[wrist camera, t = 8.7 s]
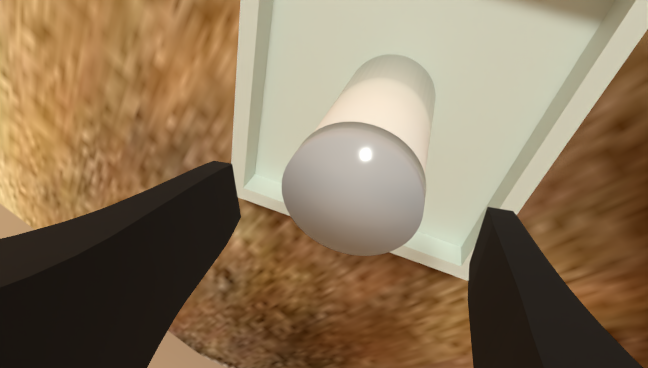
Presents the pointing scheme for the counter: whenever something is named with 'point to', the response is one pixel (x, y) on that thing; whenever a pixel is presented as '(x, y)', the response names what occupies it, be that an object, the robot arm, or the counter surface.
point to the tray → (450, 87)
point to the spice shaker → (366, 161)
